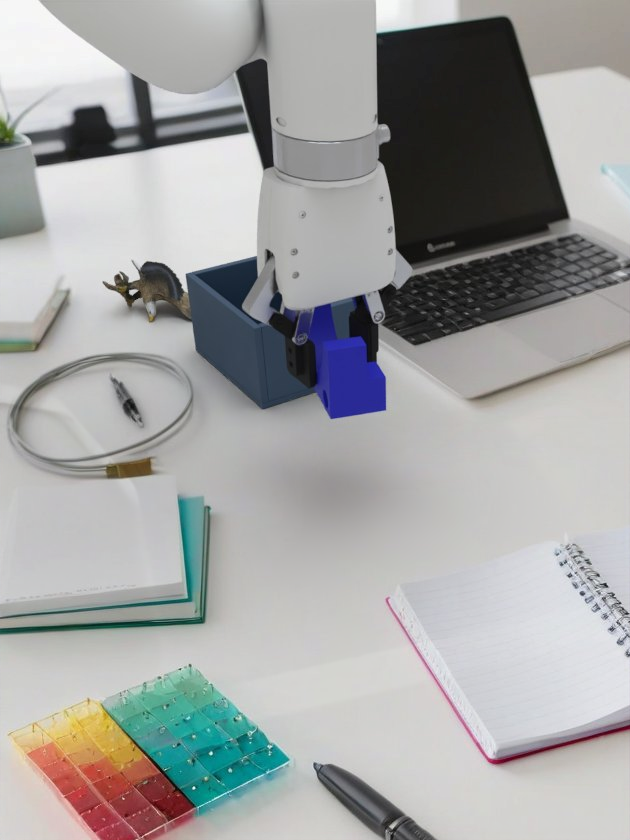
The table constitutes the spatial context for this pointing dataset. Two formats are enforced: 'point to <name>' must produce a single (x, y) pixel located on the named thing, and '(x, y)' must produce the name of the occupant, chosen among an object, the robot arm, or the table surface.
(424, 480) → the table surface
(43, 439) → the table surface
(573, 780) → the table surface
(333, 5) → the robot arm
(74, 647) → the table surface
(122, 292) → the eagle figurine
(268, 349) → the basket
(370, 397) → the cable clip
